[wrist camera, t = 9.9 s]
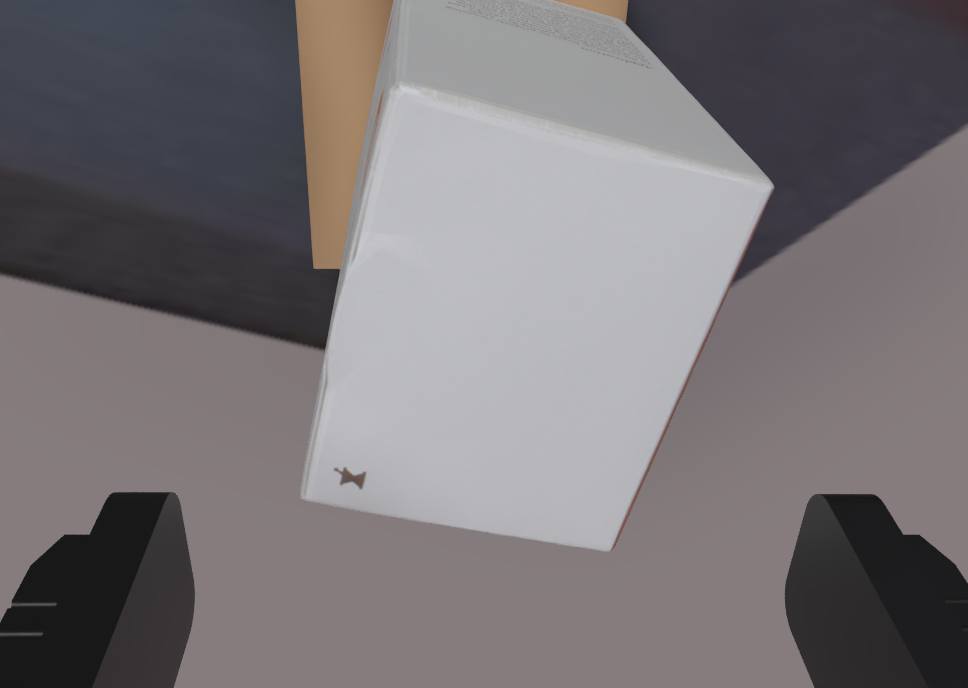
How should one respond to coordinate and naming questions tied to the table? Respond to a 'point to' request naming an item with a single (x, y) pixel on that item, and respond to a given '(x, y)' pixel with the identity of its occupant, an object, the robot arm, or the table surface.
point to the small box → (522, 273)
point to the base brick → (349, 103)
